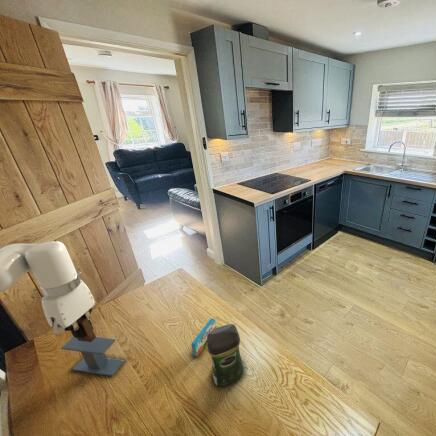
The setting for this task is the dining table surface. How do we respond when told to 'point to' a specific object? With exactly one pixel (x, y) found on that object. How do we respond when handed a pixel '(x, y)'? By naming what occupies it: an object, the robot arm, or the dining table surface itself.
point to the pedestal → (94, 356)
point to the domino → (86, 330)
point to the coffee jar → (225, 354)
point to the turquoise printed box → (202, 337)
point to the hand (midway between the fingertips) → (84, 333)
